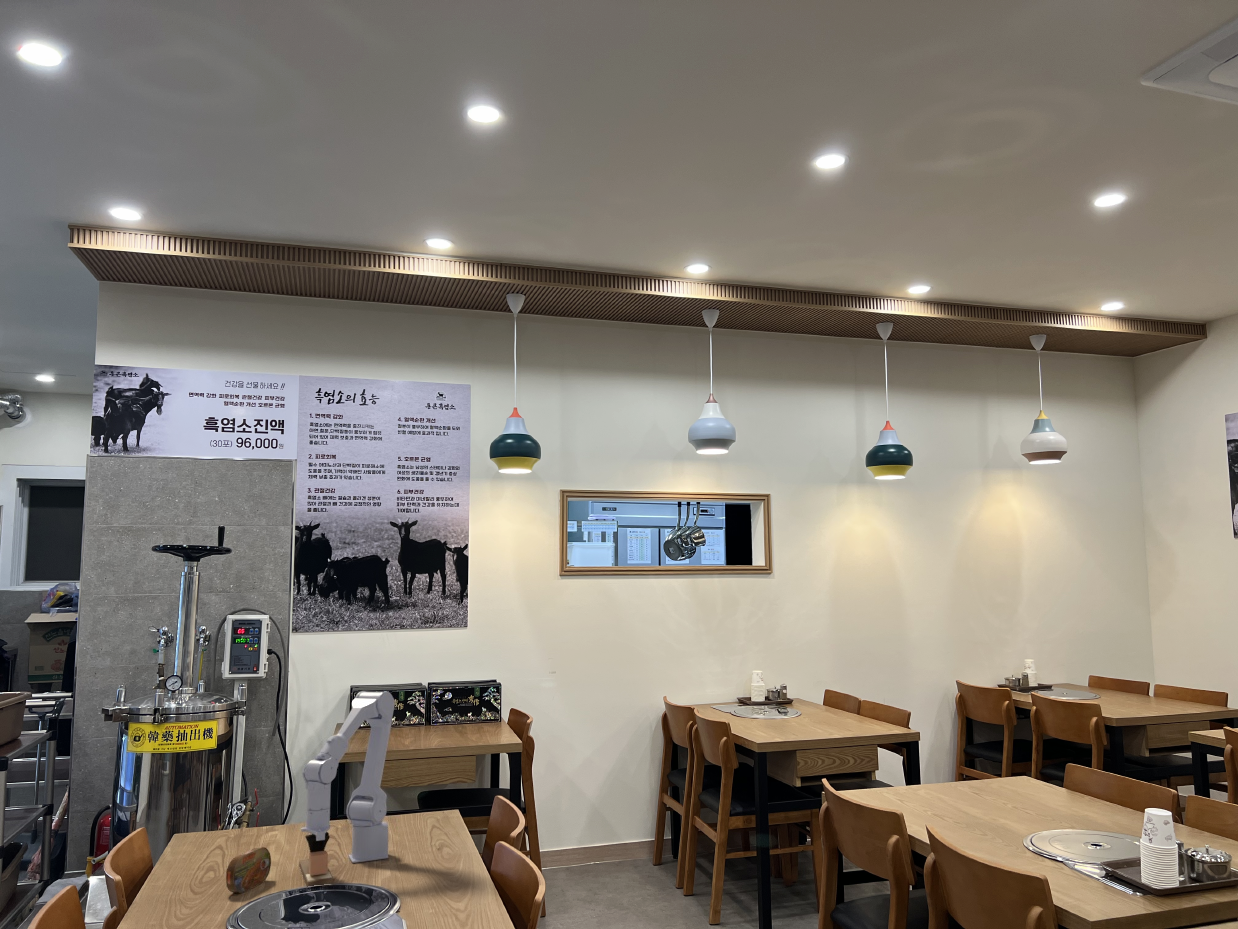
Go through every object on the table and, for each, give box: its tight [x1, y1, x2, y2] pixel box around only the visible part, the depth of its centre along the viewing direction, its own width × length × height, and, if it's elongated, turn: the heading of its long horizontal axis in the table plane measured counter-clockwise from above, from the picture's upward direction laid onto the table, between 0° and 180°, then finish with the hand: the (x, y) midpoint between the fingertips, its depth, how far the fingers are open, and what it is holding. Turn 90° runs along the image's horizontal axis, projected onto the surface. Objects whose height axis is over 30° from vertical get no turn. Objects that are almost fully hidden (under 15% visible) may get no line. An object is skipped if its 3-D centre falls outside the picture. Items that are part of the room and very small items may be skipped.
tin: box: [225, 846, 272, 894], centre depth 211 cm, size 15×3×8 cm, turn 168°
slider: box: [308, 850, 329, 876], centre depth 215 cm, size 4×4×4 cm
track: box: [298, 858, 334, 888], centre depth 219 cm, size 6×22×2 cm, turn 25°
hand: (316, 864), depth 218 cm, fingers closed
